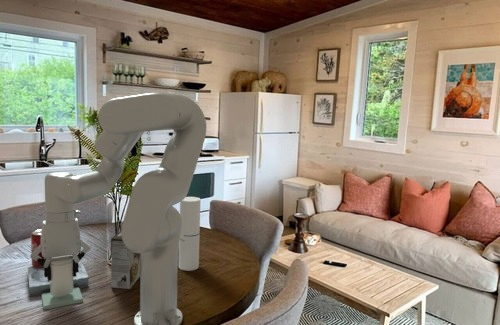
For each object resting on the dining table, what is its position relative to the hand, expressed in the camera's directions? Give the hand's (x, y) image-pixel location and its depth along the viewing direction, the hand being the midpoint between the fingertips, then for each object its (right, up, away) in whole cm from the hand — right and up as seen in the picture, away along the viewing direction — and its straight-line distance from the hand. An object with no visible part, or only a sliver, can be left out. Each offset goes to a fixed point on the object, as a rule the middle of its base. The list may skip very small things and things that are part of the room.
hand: (61, 276), depth 111 cm
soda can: (-18, -3, +24) cm, 31 cm away
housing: (-7, -5, +12) cm, 15 cm away
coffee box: (+14, -6, +14) cm, 21 cm away
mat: (0, -7, +1) cm, 7 cm away
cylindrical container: (+32, -5, +28) cm, 43 cm away
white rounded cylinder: (0, -5, +1) cm, 5 cm away
